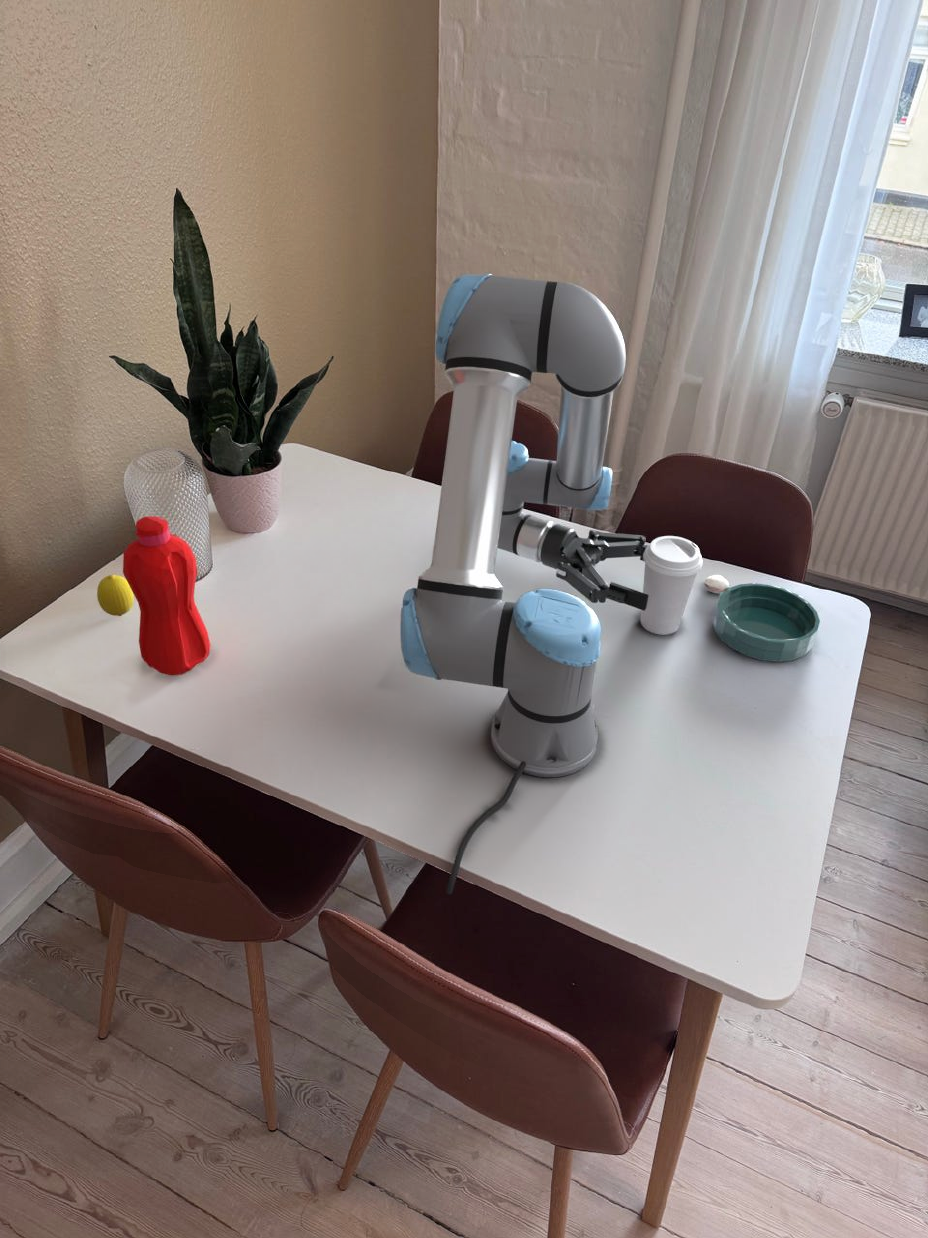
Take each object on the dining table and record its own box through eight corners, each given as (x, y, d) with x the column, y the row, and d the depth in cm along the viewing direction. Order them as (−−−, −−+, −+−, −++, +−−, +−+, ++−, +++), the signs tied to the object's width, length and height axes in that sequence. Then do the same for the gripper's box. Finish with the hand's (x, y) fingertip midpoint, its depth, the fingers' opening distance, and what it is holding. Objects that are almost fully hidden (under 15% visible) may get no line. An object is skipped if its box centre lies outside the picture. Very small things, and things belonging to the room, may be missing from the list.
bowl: (784, 677, 147) (791, 655, 145) (694, 633, 156) (699, 611, 153) (828, 632, 157) (836, 611, 155) (741, 593, 166) (747, 572, 163)
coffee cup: (692, 641, 154) (710, 566, 145) (635, 639, 154) (649, 564, 145) (682, 607, 161) (699, 534, 152) (628, 605, 161) (641, 531, 152)
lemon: (142, 607, 156) (134, 567, 151) (129, 626, 151) (120, 586, 147) (110, 604, 156) (101, 564, 151) (96, 623, 152) (86, 583, 147)
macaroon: (701, 593, 165) (704, 581, 164) (705, 578, 169) (707, 566, 168) (726, 598, 164) (729, 586, 163) (729, 583, 168) (732, 571, 167)
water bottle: (228, 648, 148) (208, 513, 133) (175, 685, 140) (148, 545, 125) (187, 627, 152) (163, 493, 137) (134, 662, 144) (102, 524, 129)
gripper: (577, 530, 173) (685, 567, 164) (512, 595, 155) (629, 639, 147) (581, 495, 168) (692, 530, 160) (515, 557, 151) (636, 601, 142)
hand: (662, 583), depth 153 cm, fingers open, 13 cm apart
